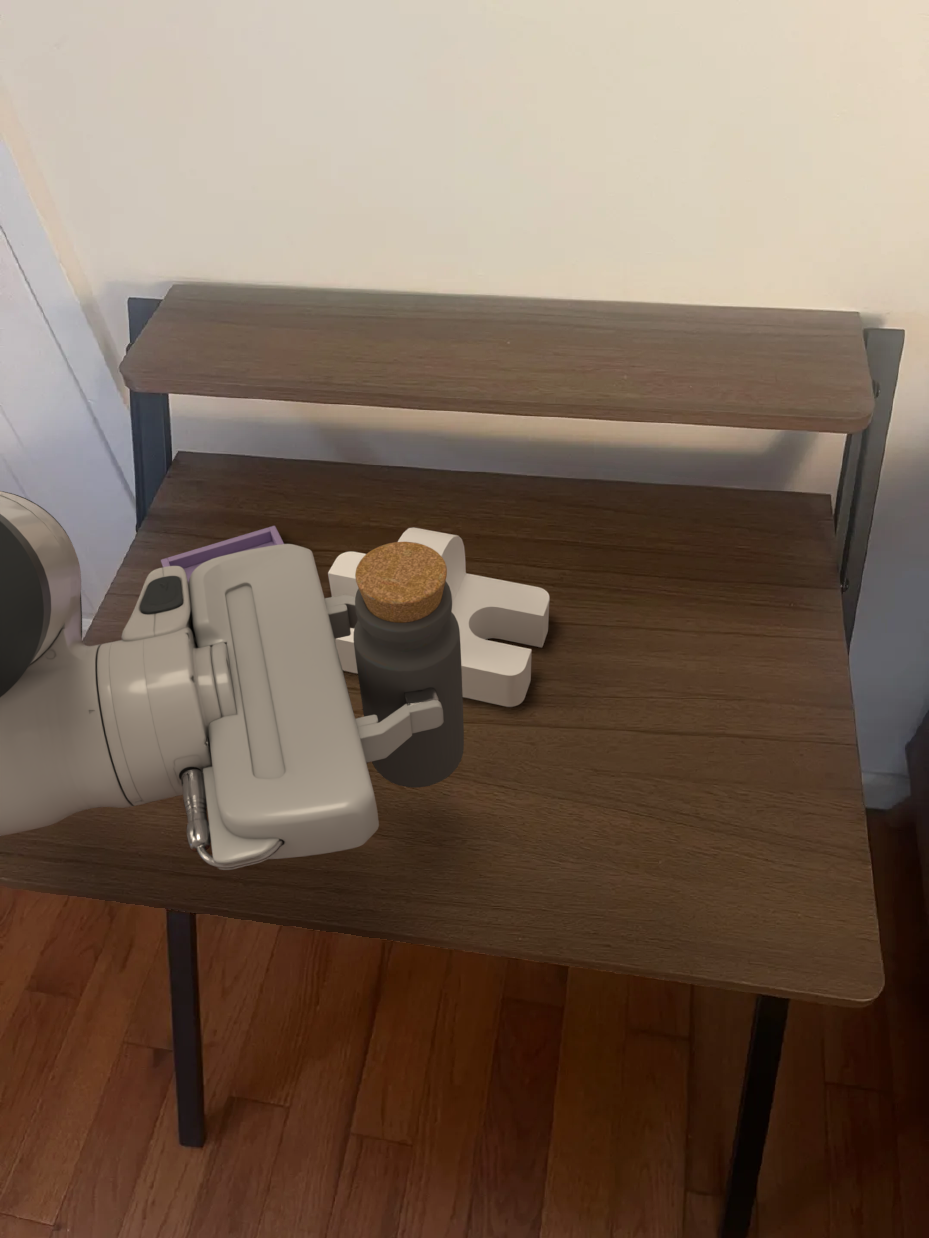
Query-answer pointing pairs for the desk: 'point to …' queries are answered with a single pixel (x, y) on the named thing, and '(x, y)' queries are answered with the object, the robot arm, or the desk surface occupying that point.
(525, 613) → the white slotted bracket
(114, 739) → the robot arm
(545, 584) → the desk surface
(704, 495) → the desk surface
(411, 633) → the bottle
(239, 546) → the tray
